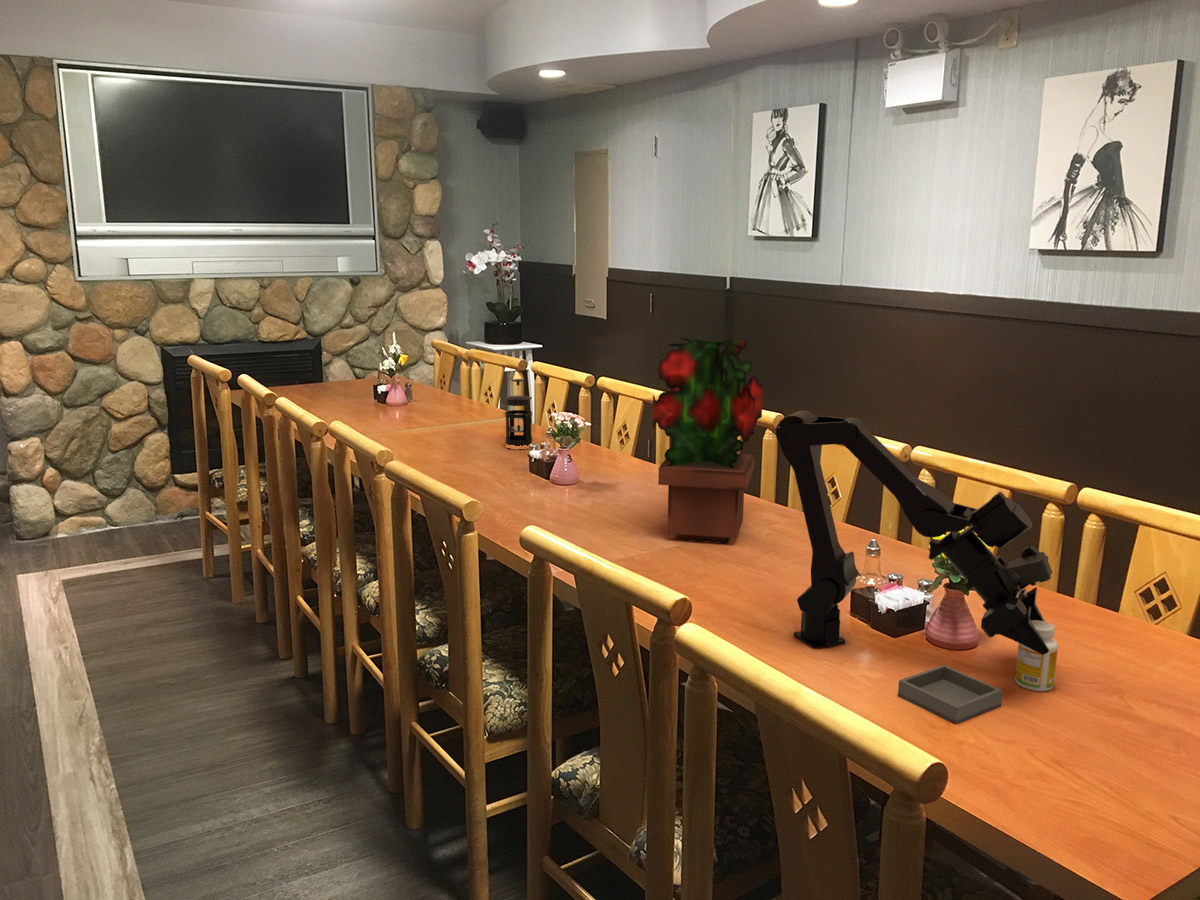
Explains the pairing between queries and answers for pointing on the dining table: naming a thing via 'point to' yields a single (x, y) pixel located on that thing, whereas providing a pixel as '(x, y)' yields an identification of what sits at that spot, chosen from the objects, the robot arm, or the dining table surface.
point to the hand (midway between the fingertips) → (1048, 646)
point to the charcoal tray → (950, 693)
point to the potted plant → (707, 437)
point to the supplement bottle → (1037, 661)
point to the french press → (512, 414)
